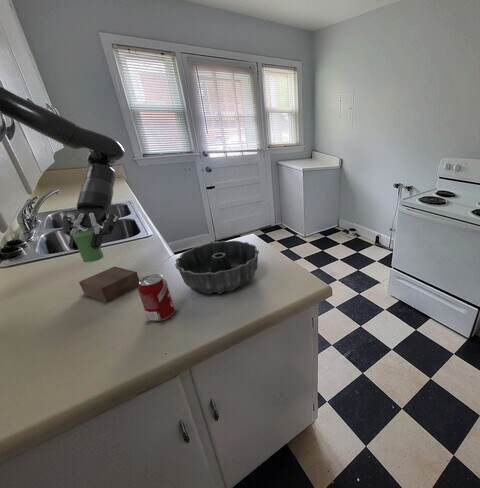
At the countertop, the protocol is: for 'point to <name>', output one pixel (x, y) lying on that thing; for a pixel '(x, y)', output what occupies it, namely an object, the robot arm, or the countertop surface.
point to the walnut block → (110, 283)
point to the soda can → (156, 297)
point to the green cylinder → (87, 246)
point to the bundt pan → (218, 266)
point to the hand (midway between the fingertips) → (84, 248)
